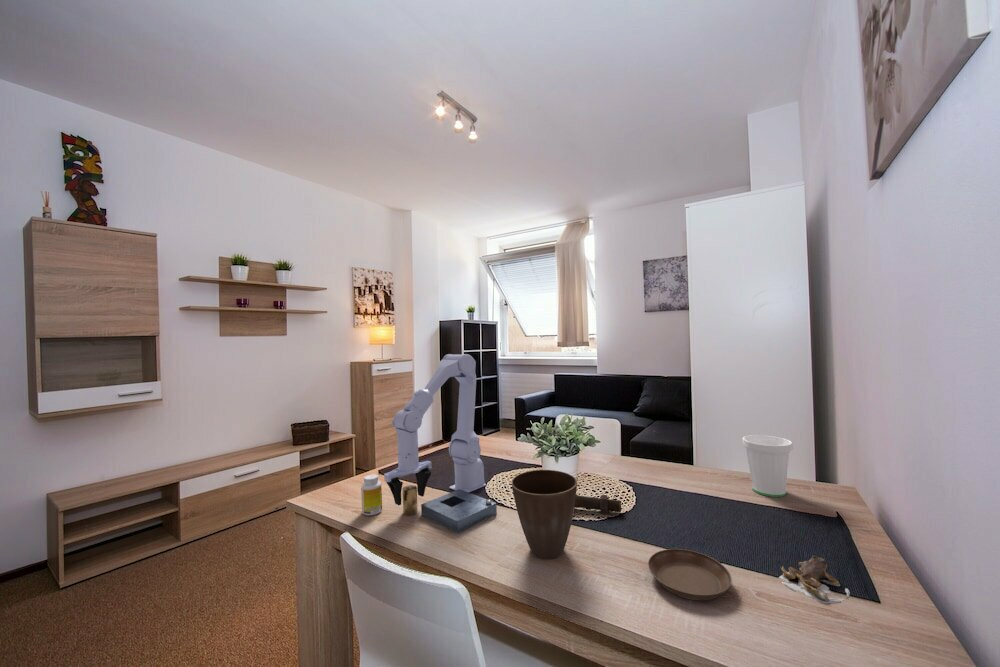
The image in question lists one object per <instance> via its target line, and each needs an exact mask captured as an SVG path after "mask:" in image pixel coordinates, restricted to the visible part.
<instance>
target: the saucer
mask: <svg viewBox="0 0 1000 667" xmlns="http://www.w3.org/2000/svg"><path fill="white" fill-rule="evenodd" d="M647 565H648V566H647V567H648V569H649V571H650V573H651V574H652V576H653V577H654V579H655V580H656V581H657V582H658V583H659V584H660V586H662V587H663V588H664V589H666V590H667V591H668V592H670V593H672V594H674V595H676V596H678V597H680V598H684V599H687V600H692V601H709V600H713V599H715V598H717V597H720V596H721V595H723V594H725V592H727V591H728V590H729V588H730V587H731V585H732V582H733V581H732V578H733V577H732V576H731V573H730V572H729V570H728V569H727V567H726V566H725V565H723V564H722V563H721V562H720V561H718V560H716V559H715V558H713V557H711V556H708V555H707V554H705V553H701V552H698V551H694V550H689V549H684V548H668V549H667V548H666V549H662V550H659V551H656V552H655V553H653V554H652V555H651V556H650V557H649V559H648V560H647Z"/></svg>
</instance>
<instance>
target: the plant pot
mask: <svg viewBox="0 0 1000 667" xmlns="http://www.w3.org/2000/svg"><path fill="white" fill-rule="evenodd" d="M577 485H578V480H577V478H576V477H575V476H573V475H572V474H570V473H567V472H564V471H560V470H554V469H553V470H552V469H535V470H529V471H525V472H522V473H519V474H517V475H516V476H514V477H513V478H512V480H511V487H512V493H513V499H514V504H515V507H516V511H517V515H518V520H519V522H520V526H521V528H522V531H523V535H524V537H525V539H526V542H527V545H528V547H529V549H530V551H531V553H532V554H533V556H535V557H537V558H540V559H543V560H551V559H555V558H559V557H560V556H561V555H562V554H563V553H564V550H565V547H566V546H567V541H568V538H569V534H570V530H571V527H572V523H573V517H574V512H575V508H574V506H575V499H576V495H577V489H578V488H577V487H578V486H577Z"/></svg>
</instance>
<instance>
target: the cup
mask: <svg viewBox="0 0 1000 667" xmlns="http://www.w3.org/2000/svg"><path fill="white" fill-rule="evenodd" d="M741 440H742V445H743V446H744V448H745V449H746V455H747V460H748V461H747V462H748V468H749V472H750V479H751V489H752V492H755V493H757V494H759V495H762V496H766V497H773V498H781V497H785V496H786V495H787V480H788V468H789V456H790V453H791V451H792V450H793V448H794V446H793V445H794V444H793V442H792V441H791V440H789V439H787V438H783V437H779V436H773V435H766V434H751V435H749V434H748V435H744V436H743V437H742V439H741Z"/></svg>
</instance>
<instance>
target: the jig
mask: <svg viewBox="0 0 1000 667" xmlns="http://www.w3.org/2000/svg"><path fill="white" fill-rule="evenodd" d="M420 508H421V512H420V513H421V516H422V517H425V518H427V519H429V520H431V521H433V522H435V523H437V524H438V525H440V526H443V527H445V528H446V529H448V530H451V531H452V532H455V533H457V534H460V533H462V532H464V531H465V530H467V529H469V528H471V527H474V526H476V525H477V524H480V523H482V522H483V521H485V520H487V519H490V518H491V517H493V516H495V515H498V512H497V510H498V508H497V502H494V501H493V500H492V499H490V498H489V499H488V498H487V499H486V498H484V497H482V496H480V495H479V496H478V495H476V494H474V493H471V492H469V493H468V492H466V491H463V490H460V489H458V490H456V491H455V490H453V491H452V492H449V493H447V494H444V495H440V496H439V497H437V498H434V499H431V500H428V501H426V502H424V503H422V504H420Z"/></svg>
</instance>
